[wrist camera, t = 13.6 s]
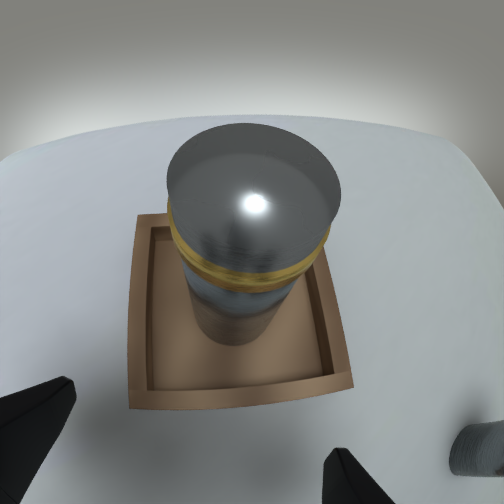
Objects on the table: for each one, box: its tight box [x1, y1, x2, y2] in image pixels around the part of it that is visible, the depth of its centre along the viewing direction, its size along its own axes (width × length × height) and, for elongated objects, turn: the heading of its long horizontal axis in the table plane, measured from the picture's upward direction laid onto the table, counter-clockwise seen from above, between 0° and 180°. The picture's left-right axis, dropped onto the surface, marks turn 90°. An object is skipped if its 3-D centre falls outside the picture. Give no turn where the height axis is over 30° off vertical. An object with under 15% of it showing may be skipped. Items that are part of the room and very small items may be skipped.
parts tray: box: [127, 213, 354, 410], centre depth 19 cm, size 14×14×3 cm
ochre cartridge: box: [167, 123, 341, 346], centre depth 14 cm, size 6×6×13 cm
